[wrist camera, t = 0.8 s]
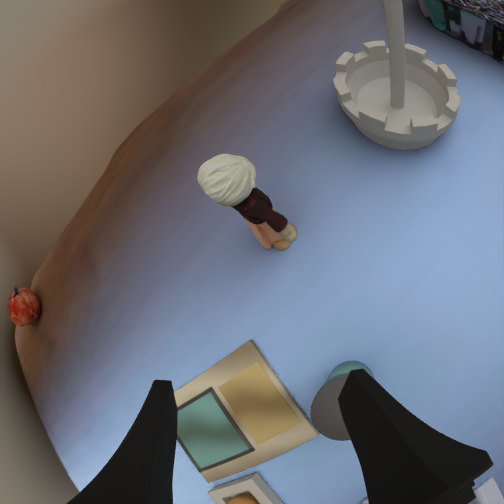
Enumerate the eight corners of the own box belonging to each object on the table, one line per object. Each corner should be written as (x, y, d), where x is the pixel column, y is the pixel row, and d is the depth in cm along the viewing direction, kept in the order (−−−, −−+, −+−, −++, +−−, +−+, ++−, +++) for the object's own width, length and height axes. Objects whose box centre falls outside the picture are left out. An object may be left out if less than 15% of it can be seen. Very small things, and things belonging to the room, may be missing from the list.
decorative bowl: (554, 116, 16) (580, 78, 7) (394, 36, 27) (394, -19, 17) (529, 36, 18) (539, 4, 8) (409, -17, 28) (407, -53, 18)
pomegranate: (50, 333, 42) (34, 296, 37) (20, 344, 38) (1, 308, 32) (43, 308, 46) (30, 271, 41) (16, 318, 42) (-1, 282, 36)
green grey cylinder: (383, 386, 20) (390, 415, 13) (344, 413, 21) (333, 451, 13) (356, 350, 22) (354, 365, 15) (318, 378, 22) (297, 403, 15)
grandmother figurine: (238, 232, 29) (156, 177, 17) (258, 200, 29) (188, 129, 17) (302, 270, 25) (246, 227, 14) (323, 234, 25) (286, 163, 14)
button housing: (289, 510, 19) (285, 518, 18) (245, 522, 20) (239, 529, 19) (257, 471, 22) (251, 478, 20) (214, 486, 23) (207, 492, 21)
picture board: (319, 433, 21) (317, 436, 20) (210, 480, 23) (207, 483, 22) (252, 339, 25) (249, 340, 25) (159, 402, 28) (155, 403, 27)
